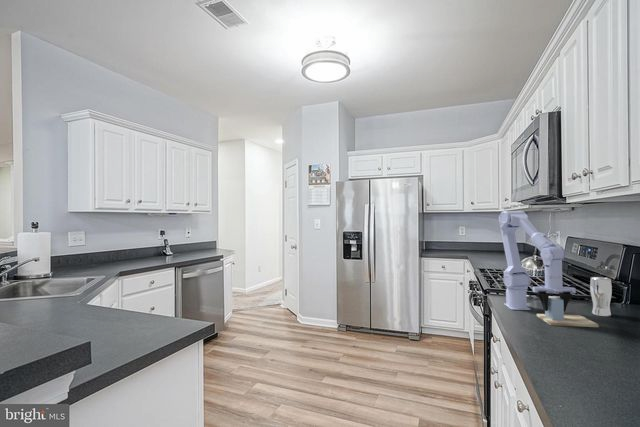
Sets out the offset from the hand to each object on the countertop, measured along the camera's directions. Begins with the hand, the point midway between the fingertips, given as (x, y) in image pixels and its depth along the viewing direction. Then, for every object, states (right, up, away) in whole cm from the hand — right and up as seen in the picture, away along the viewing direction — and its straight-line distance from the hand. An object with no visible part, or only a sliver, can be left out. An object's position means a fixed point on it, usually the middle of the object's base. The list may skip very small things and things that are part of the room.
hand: (554, 310), depth 132 cm
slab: (0, -3, 0) cm, 3 cm away
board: (+4, -4, -1) cm, 6 cm away
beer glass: (+25, -4, +7) cm, 26 cm away
